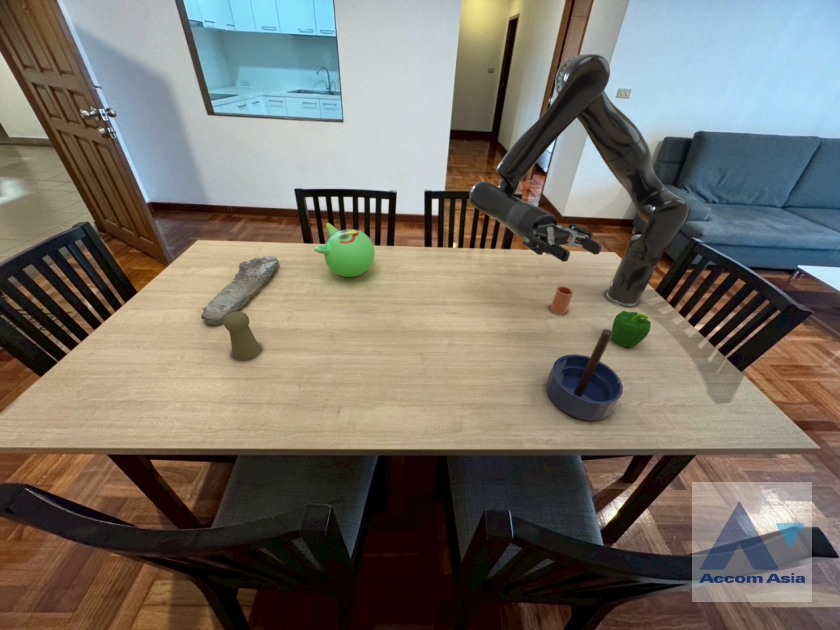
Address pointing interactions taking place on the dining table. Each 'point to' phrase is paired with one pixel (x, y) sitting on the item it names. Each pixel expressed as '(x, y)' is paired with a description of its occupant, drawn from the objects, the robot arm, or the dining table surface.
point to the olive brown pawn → (241, 336)
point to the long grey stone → (240, 289)
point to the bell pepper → (630, 328)
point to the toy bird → (347, 251)
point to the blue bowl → (597, 394)
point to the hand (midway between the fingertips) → (583, 253)
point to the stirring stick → (593, 362)
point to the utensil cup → (561, 299)
